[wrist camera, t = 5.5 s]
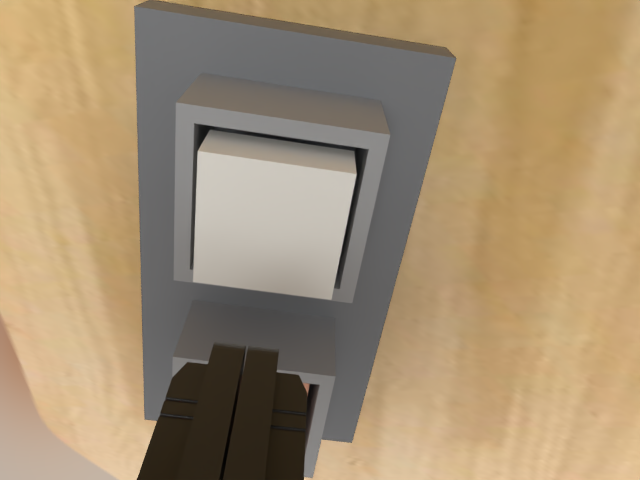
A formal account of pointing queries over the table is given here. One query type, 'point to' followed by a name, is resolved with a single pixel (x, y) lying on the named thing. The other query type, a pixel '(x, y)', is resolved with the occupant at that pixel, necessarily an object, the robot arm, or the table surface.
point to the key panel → (288, 125)
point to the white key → (271, 214)
